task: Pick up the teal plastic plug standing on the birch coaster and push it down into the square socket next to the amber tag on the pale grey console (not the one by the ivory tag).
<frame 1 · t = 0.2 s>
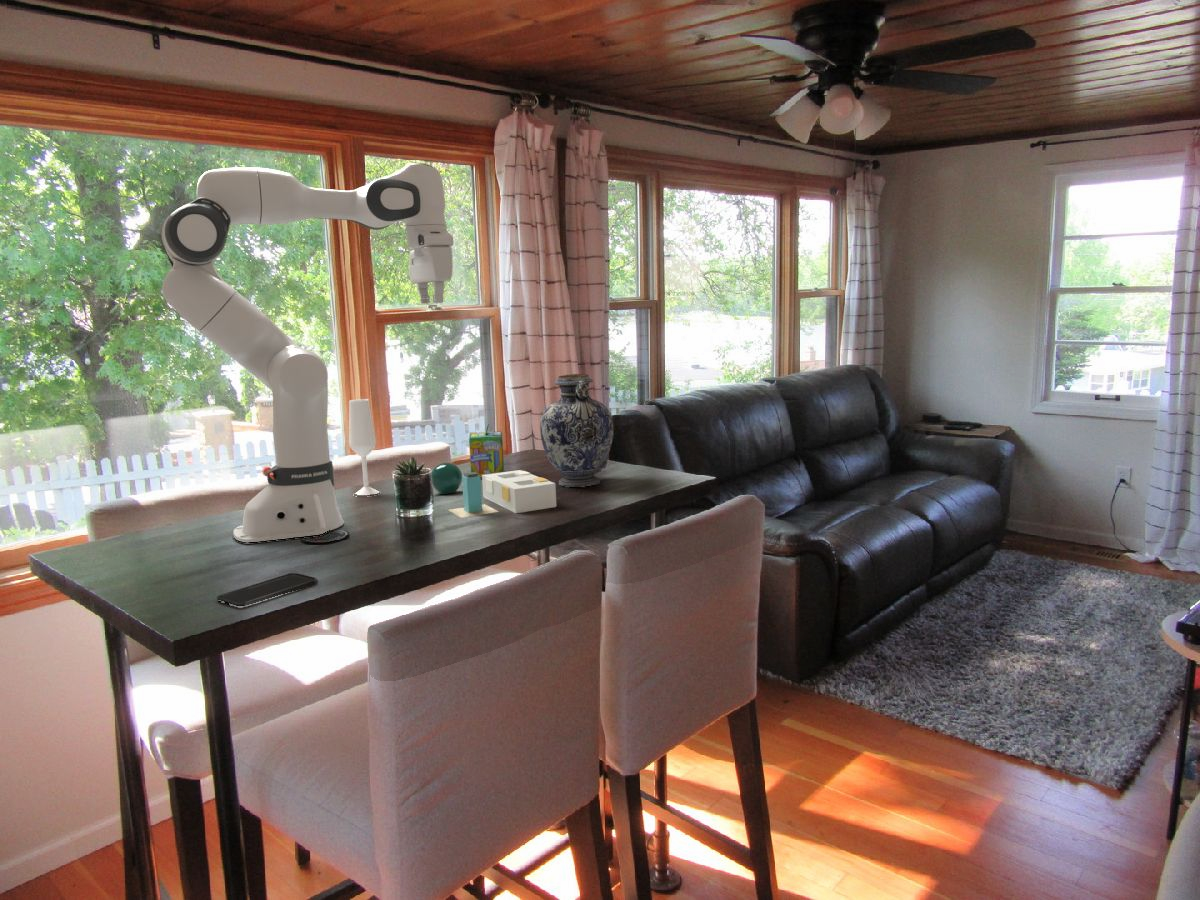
hand: (431, 303, 196), 47 cm above the table, tool pointing down, fingers open, 8 cm apart
phone: (269, 595, 147), on the table
coaster: (473, 513, 197), on the table
plug: (473, 510, 197), point 1 cm above the table, touching coaster
sphere: (447, 494, 219), on the table
champagne flute: (367, 494, 222), on the table
chalk box: (487, 476, 241), on the table
console: (518, 504, 204), on the table
decorative vase: (579, 484, 225), on the table
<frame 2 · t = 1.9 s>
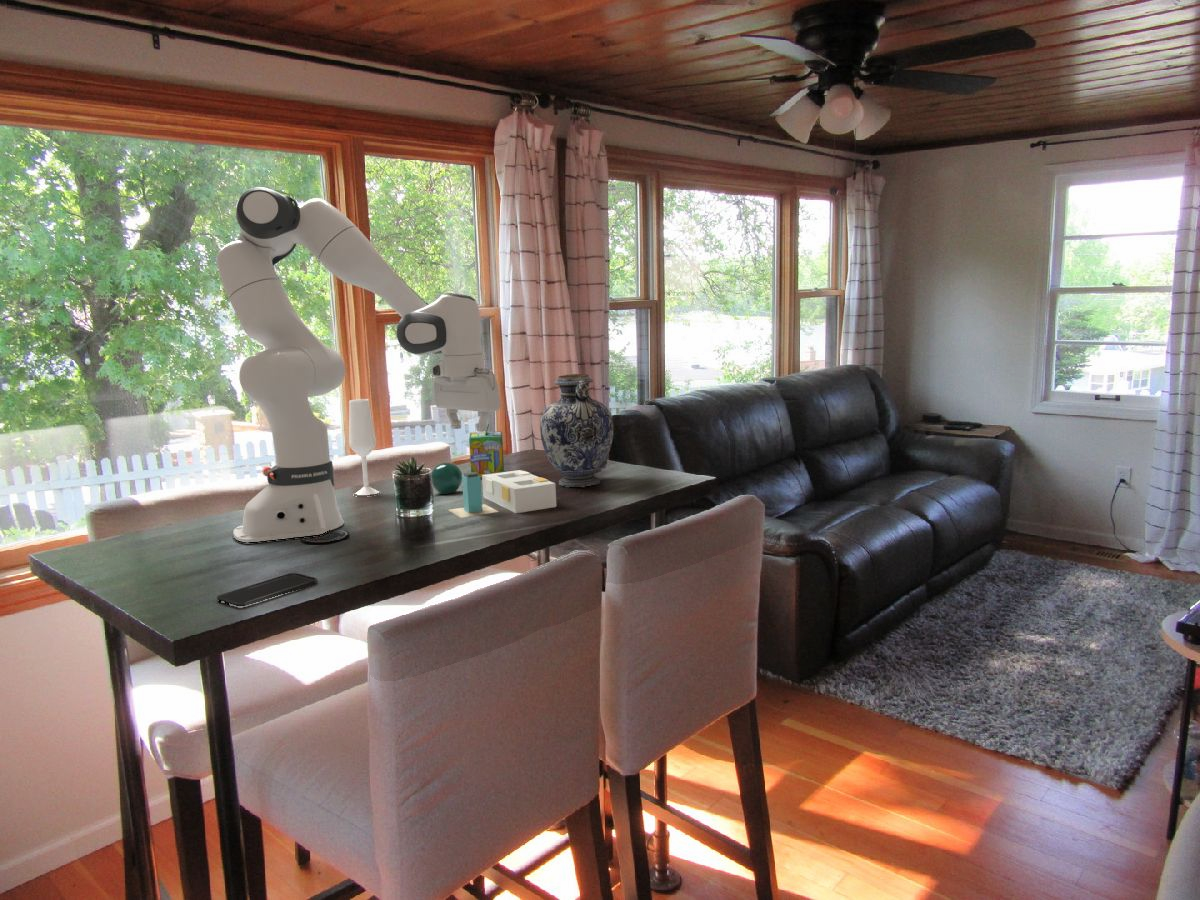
hand: (468, 430, 194), 19 cm above the table, tool pointing down, fingers open, 8 cm apart
nothing on the table moved.
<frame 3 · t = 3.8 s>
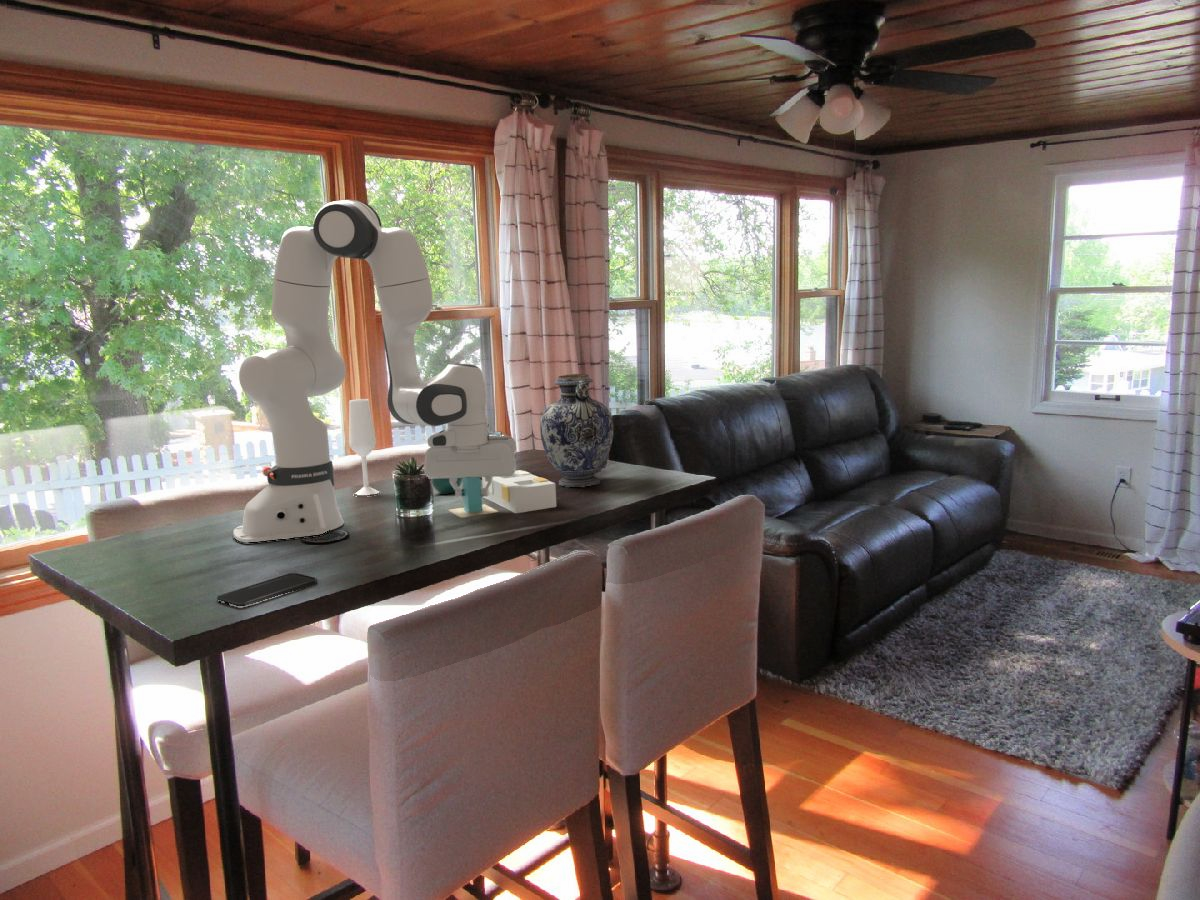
hand: (472, 496, 196), 4 cm above the table, tool pointing down, fingers closed on plug, 4 cm apart
plug: (473, 510, 197), point 1 cm above the table, touching coaster, gripper
everything else where it was.
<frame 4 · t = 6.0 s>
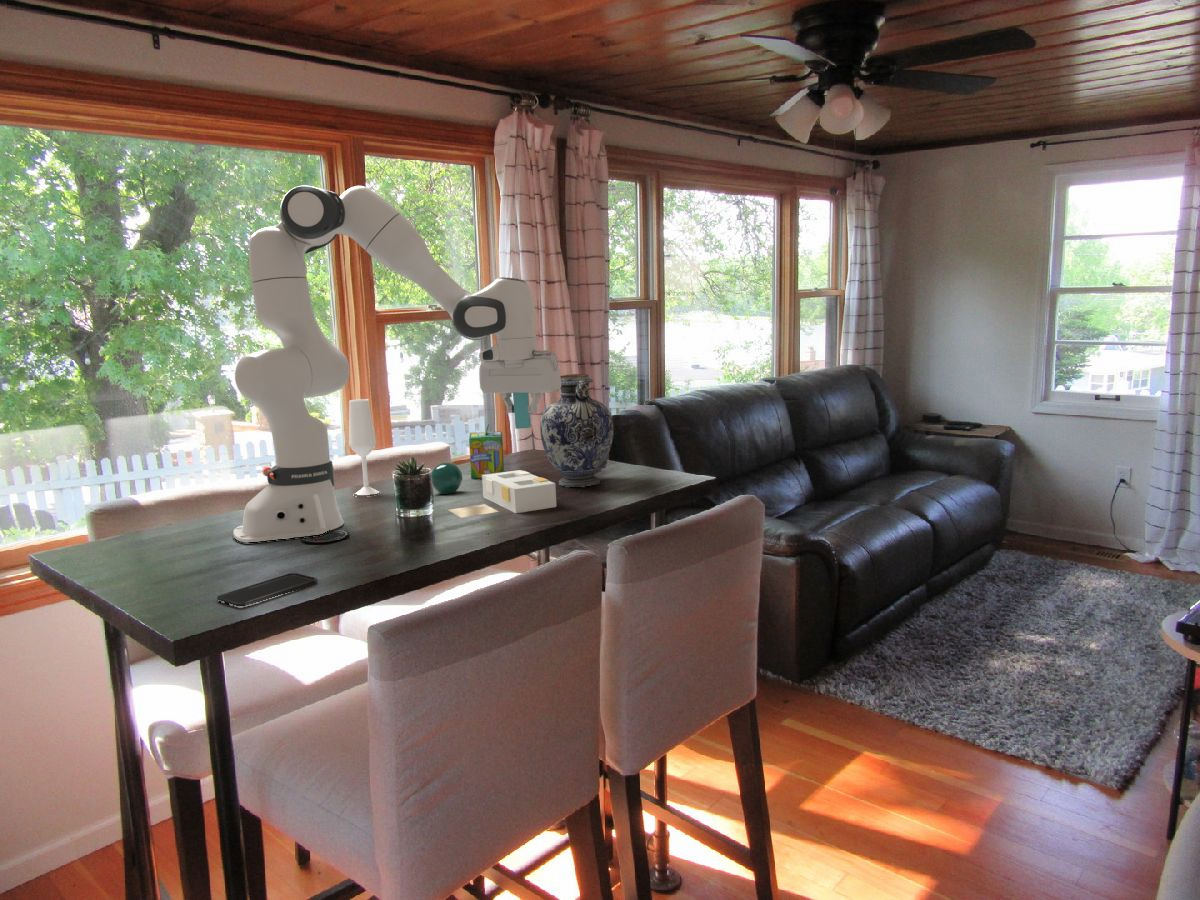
hand: (522, 412, 196), 22 cm above the table, tool pointing down, fingers closed on plug, 4 cm apart
plug: (523, 427, 197), point 19 cm above the table, touching gripper
everything else where it was.
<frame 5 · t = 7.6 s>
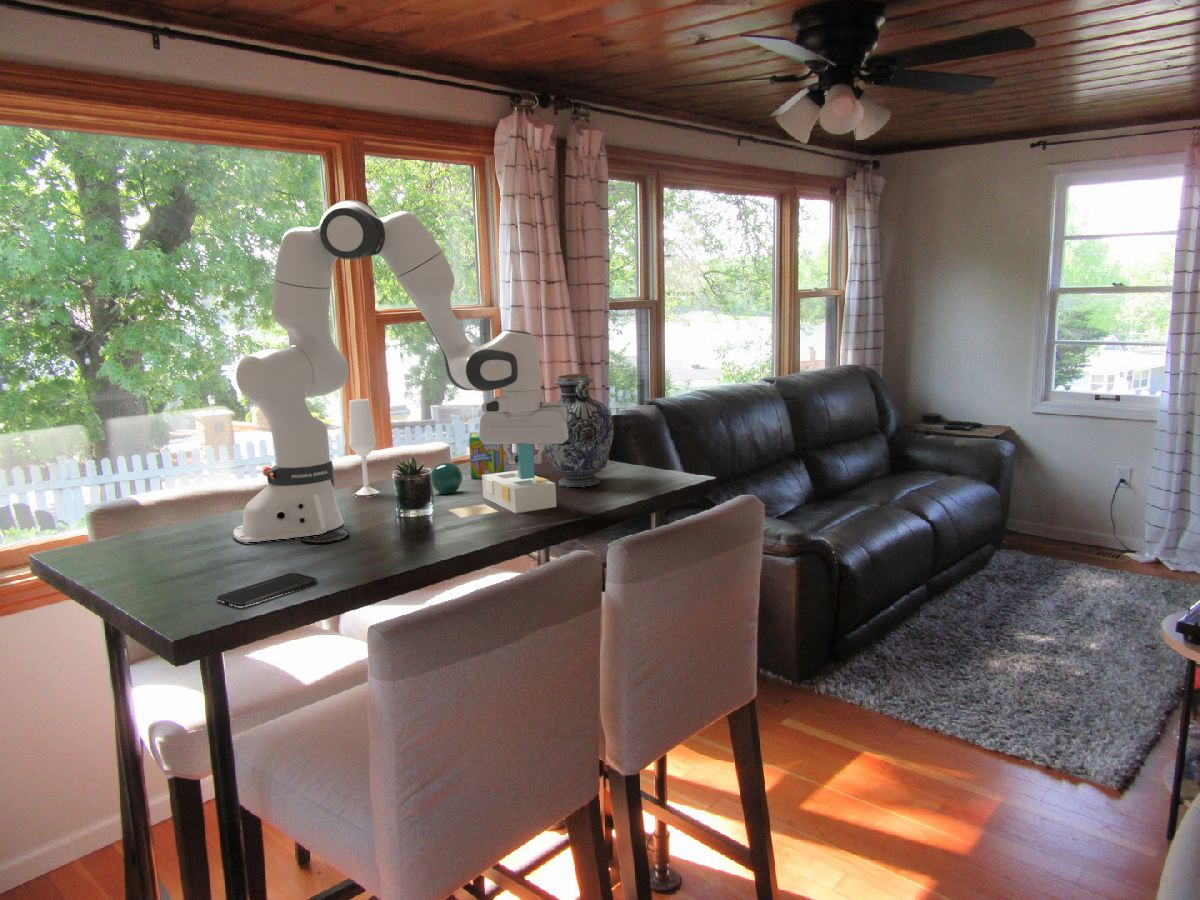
hand: (525, 463, 198), 11 cm above the table, tool pointing down, fingers closed on plug, 4 cm apart
plug: (526, 477, 198), point 7 cm above the table, touching gripper
everything else where it was.
when the fingers open (7 cm above the table, at t = 8.6 s): plug drops 1 cm, resting on console.
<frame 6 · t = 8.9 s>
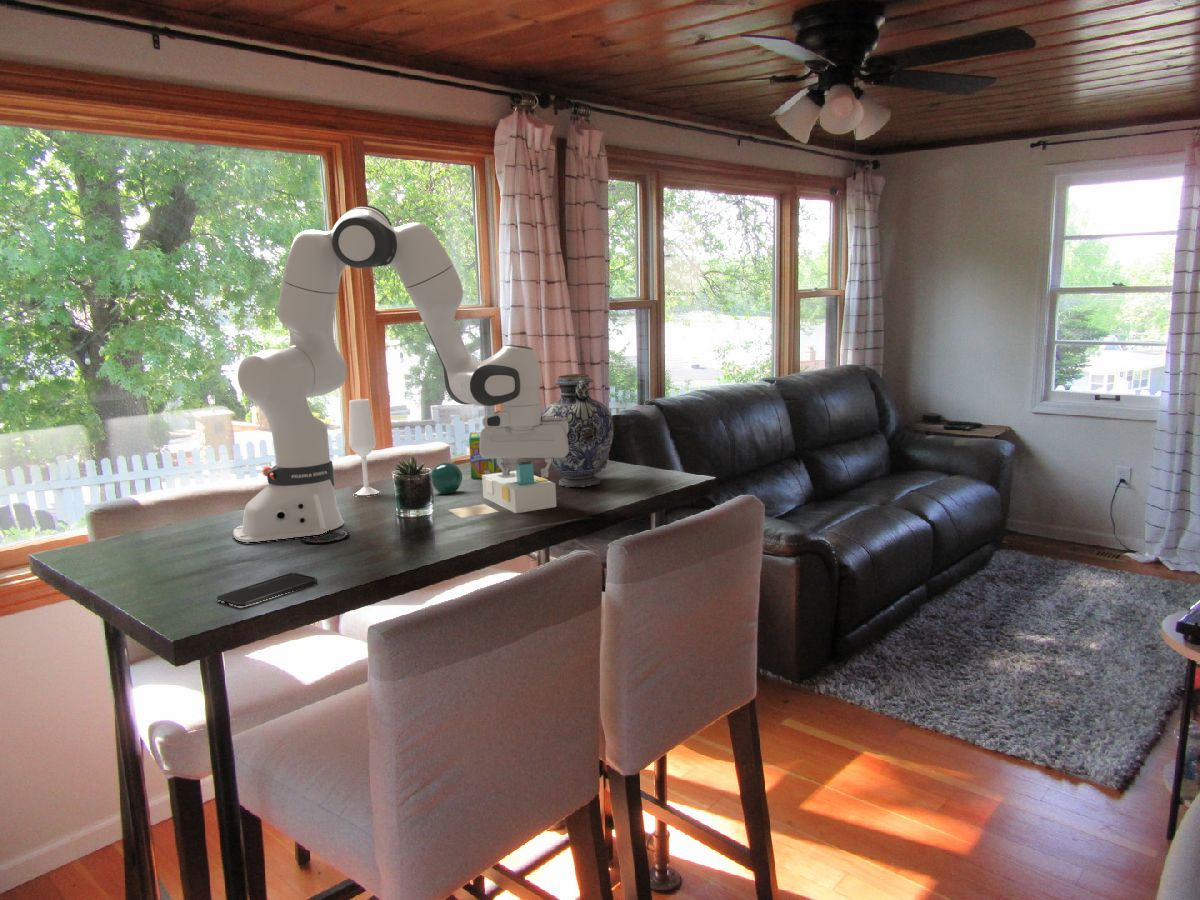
hand: (525, 477, 199), 7 cm above the table, tool pointing down, fingers open, 8 cm apart
plug: (526, 497, 199), point 3 cm above the table, touching console
everything else where it was.
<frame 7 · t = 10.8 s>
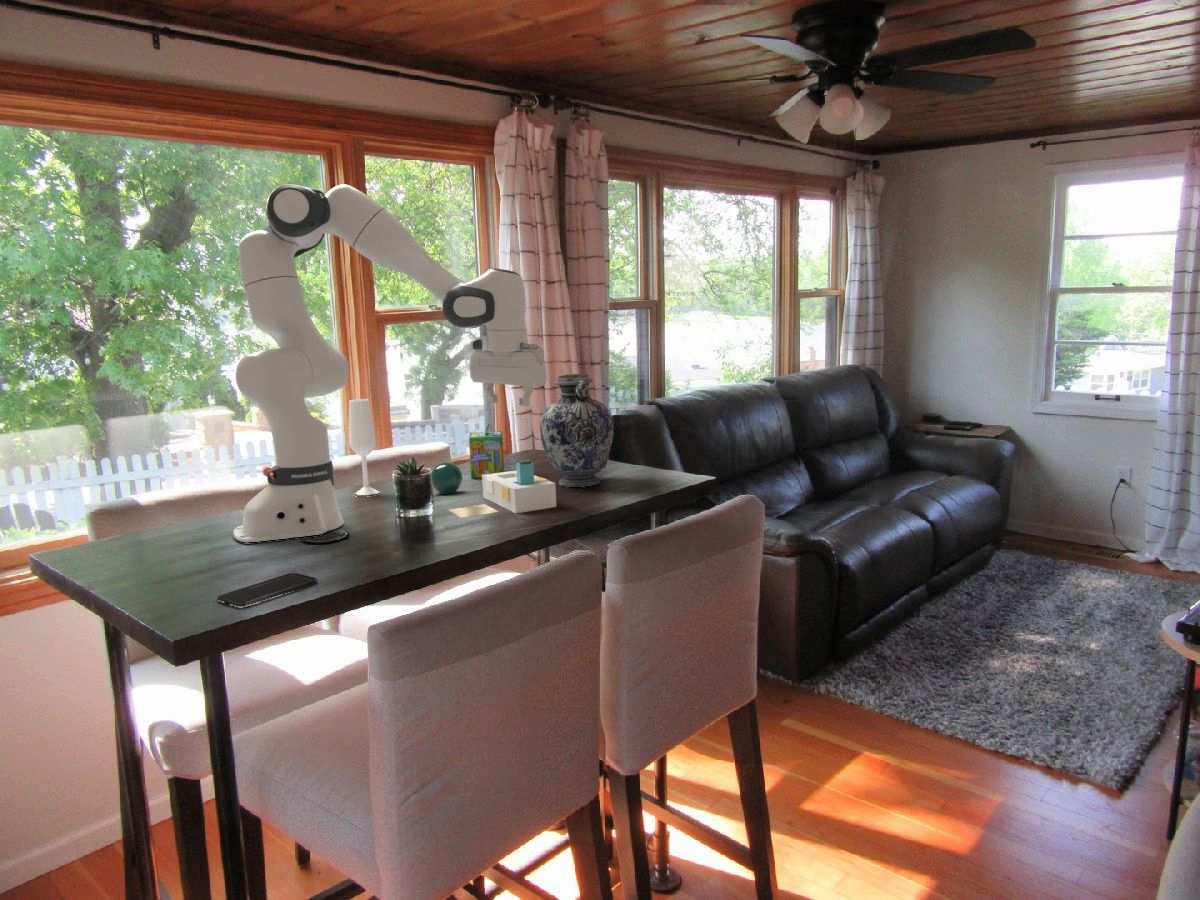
hand: (508, 404, 197), 24 cm above the table, tool pointing down, fingers open, 8 cm apart
nothing on the table moved.
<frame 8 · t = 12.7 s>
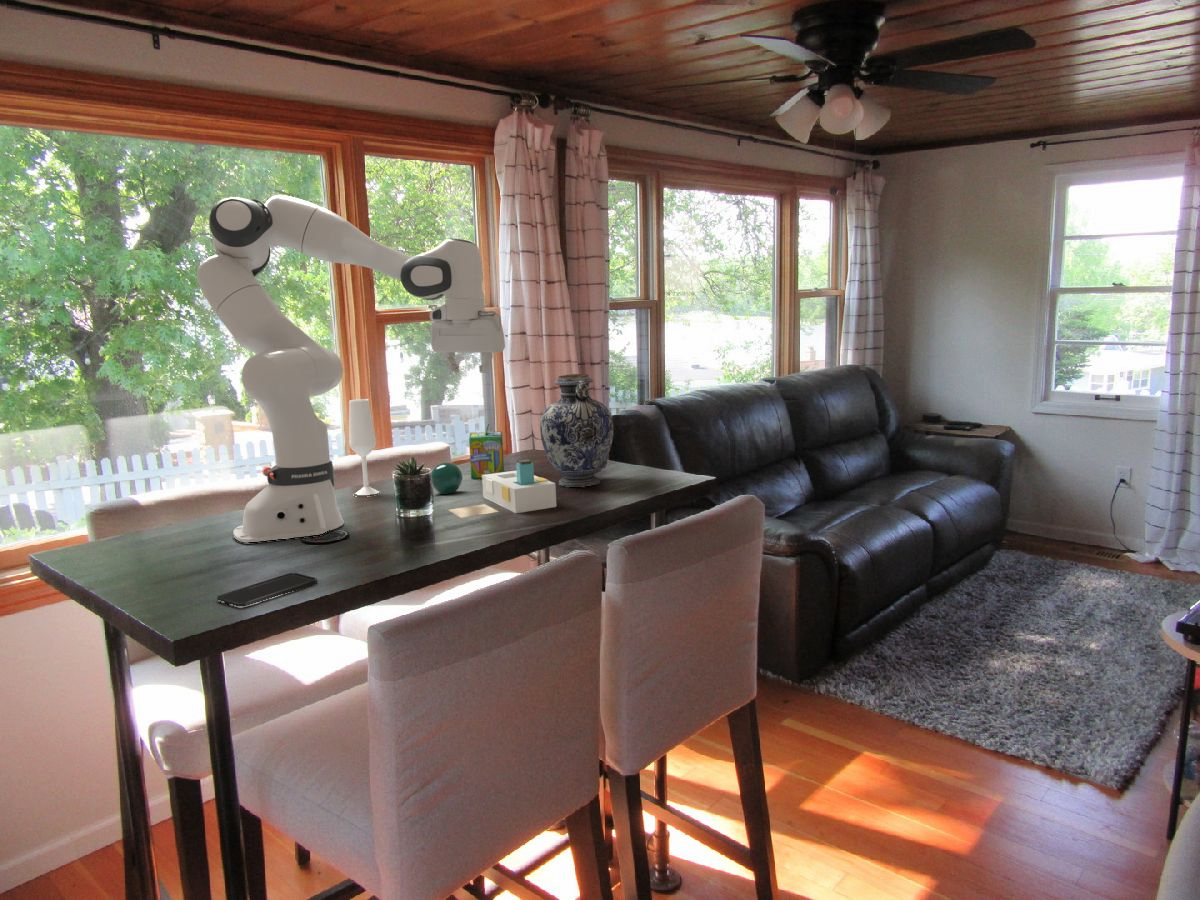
hand: (469, 372, 200), 31 cm above the table, tool pointing down, fingers open, 8 cm apart
nothing on the table moved.
at the end: plug 0.1 cm from the target spot on the console, point 2.5 cm above the console's base; plug tilted 0°; the gripper is holding nothing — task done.
